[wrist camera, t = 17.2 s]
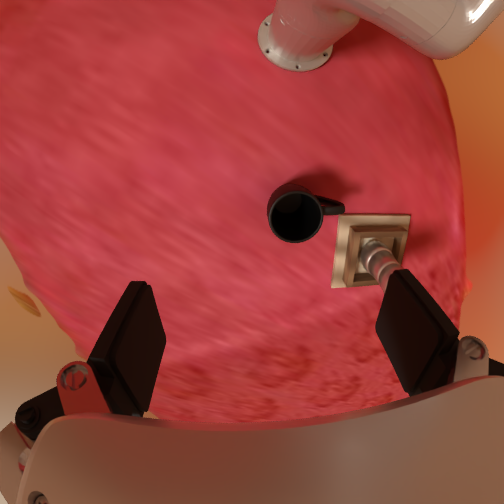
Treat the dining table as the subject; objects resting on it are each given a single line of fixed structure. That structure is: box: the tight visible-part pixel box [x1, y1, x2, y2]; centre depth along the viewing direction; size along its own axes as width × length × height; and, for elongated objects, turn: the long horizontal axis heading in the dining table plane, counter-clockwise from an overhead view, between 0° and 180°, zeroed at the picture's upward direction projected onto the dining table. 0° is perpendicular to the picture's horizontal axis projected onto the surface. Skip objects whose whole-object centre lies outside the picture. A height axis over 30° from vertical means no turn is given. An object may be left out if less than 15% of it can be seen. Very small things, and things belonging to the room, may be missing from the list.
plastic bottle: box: [360, 241, 404, 294], centre depth 43 cm, size 6×7×20 cm
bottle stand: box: [331, 214, 411, 288], centre depth 51 cm, size 16×16×4 cm
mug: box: [267, 184, 345, 243], centre depth 43 cm, size 8×12×10 cm
